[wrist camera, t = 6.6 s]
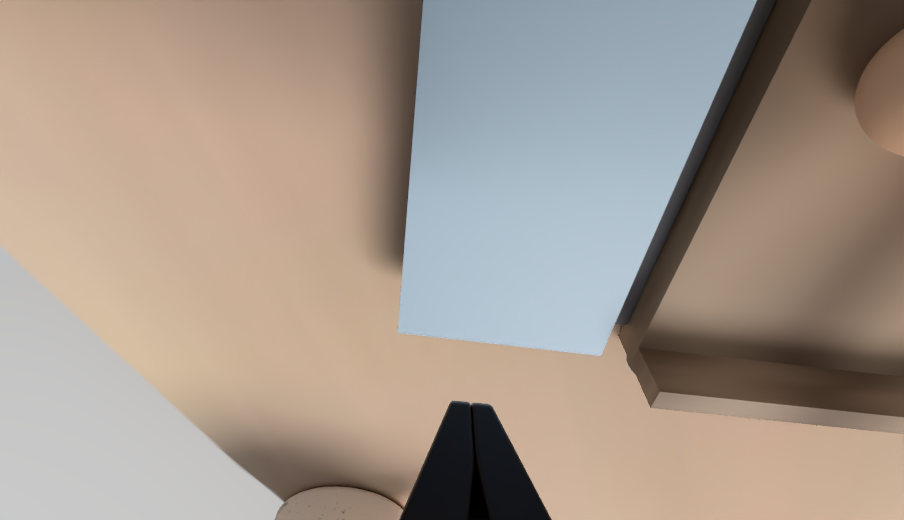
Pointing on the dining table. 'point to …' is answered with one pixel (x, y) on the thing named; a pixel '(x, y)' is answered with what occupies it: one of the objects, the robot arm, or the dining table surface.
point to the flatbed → (781, 237)
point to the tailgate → (550, 159)
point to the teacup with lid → (338, 505)
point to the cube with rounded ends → (883, 96)
